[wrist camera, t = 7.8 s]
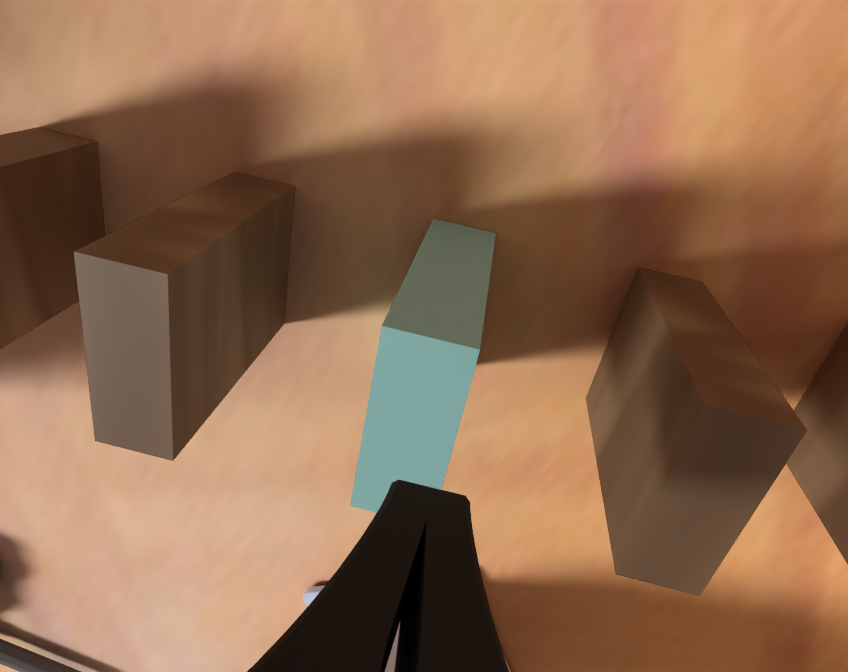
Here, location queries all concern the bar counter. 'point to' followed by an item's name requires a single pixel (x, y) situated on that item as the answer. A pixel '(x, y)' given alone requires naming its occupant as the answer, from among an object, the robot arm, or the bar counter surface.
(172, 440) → the domino
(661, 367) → the domino
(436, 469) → the domino
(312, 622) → the robot arm
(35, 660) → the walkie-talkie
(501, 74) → the bar counter surface
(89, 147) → the domino
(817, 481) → the domino
